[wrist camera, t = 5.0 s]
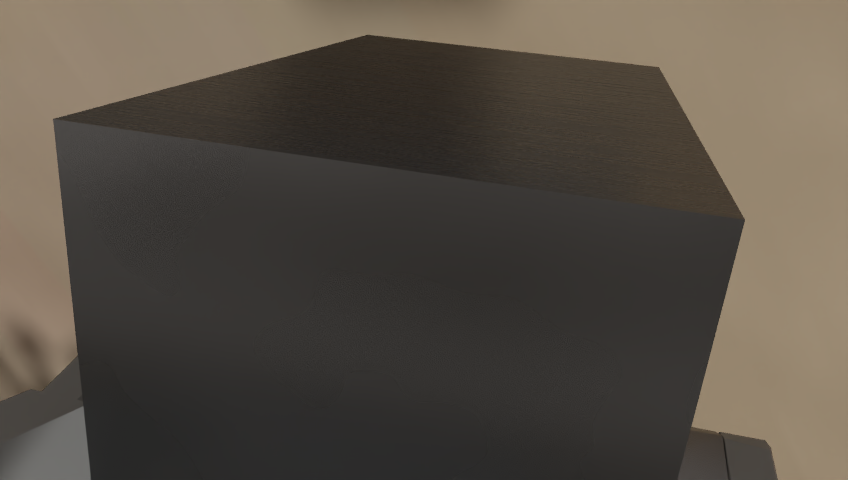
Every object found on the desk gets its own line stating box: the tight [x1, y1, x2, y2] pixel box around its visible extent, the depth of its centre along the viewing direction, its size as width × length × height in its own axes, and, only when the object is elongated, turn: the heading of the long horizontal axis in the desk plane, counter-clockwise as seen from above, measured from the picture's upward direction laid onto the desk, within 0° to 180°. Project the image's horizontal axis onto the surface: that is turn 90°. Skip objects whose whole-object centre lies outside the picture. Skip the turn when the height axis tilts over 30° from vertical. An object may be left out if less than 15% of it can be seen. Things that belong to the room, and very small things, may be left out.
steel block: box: [53, 35, 745, 480], centre depth 10 cm, size 5×9×8 cm, turn 177°
